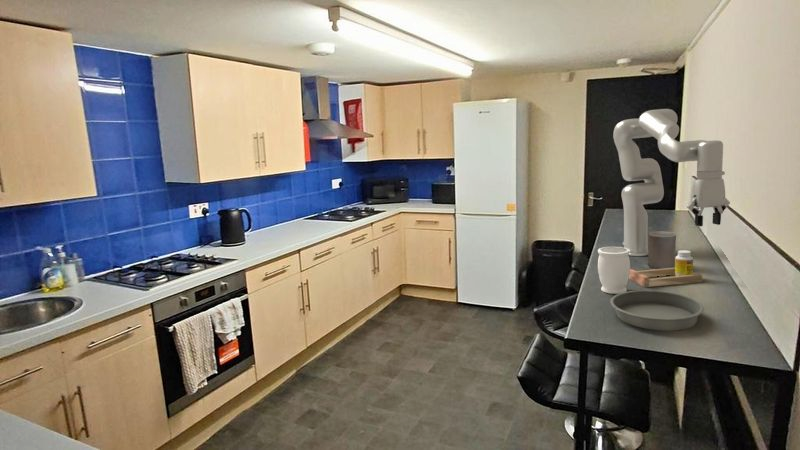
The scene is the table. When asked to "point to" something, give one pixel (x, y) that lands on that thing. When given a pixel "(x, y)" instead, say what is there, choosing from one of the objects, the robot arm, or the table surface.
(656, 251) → the pillar candle
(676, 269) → the supplement bottle
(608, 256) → the jar
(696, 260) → the table surface
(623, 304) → the cake pan
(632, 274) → the channel
